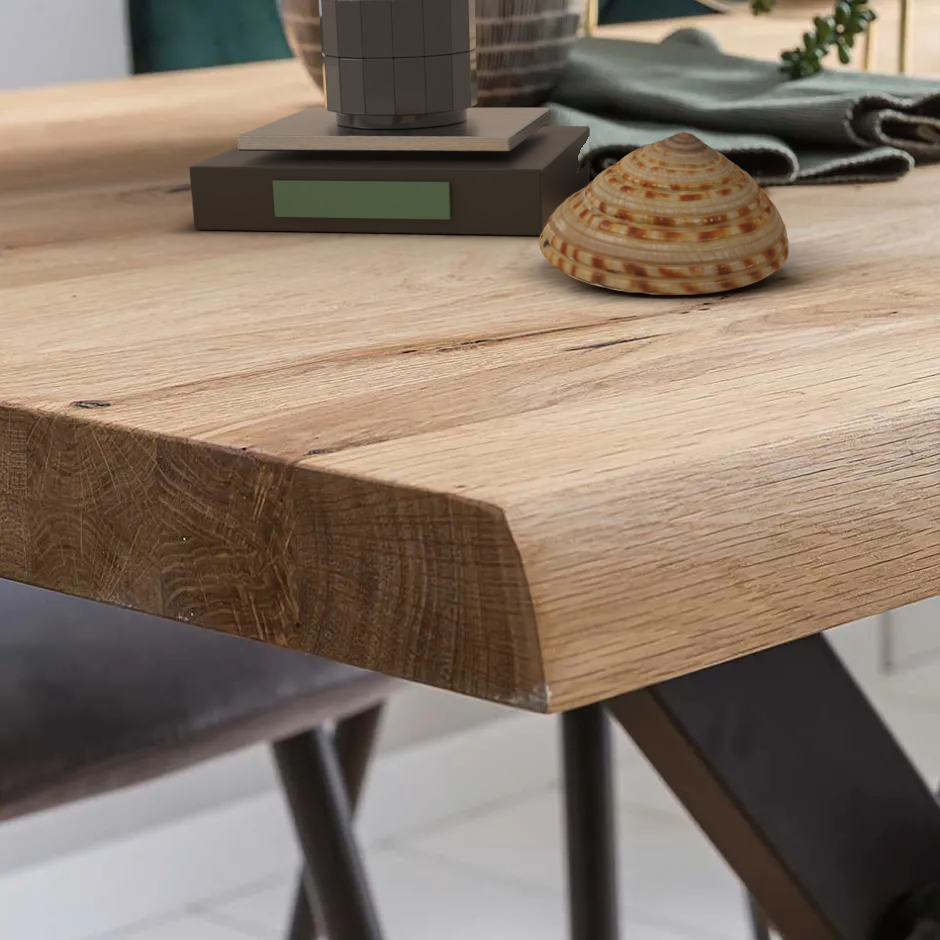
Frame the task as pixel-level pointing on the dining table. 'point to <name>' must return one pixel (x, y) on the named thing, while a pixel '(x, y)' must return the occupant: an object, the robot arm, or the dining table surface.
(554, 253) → the seashell
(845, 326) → the dining table surface
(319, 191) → the scale
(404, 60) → the grey faceted cup
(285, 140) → the scale pan
